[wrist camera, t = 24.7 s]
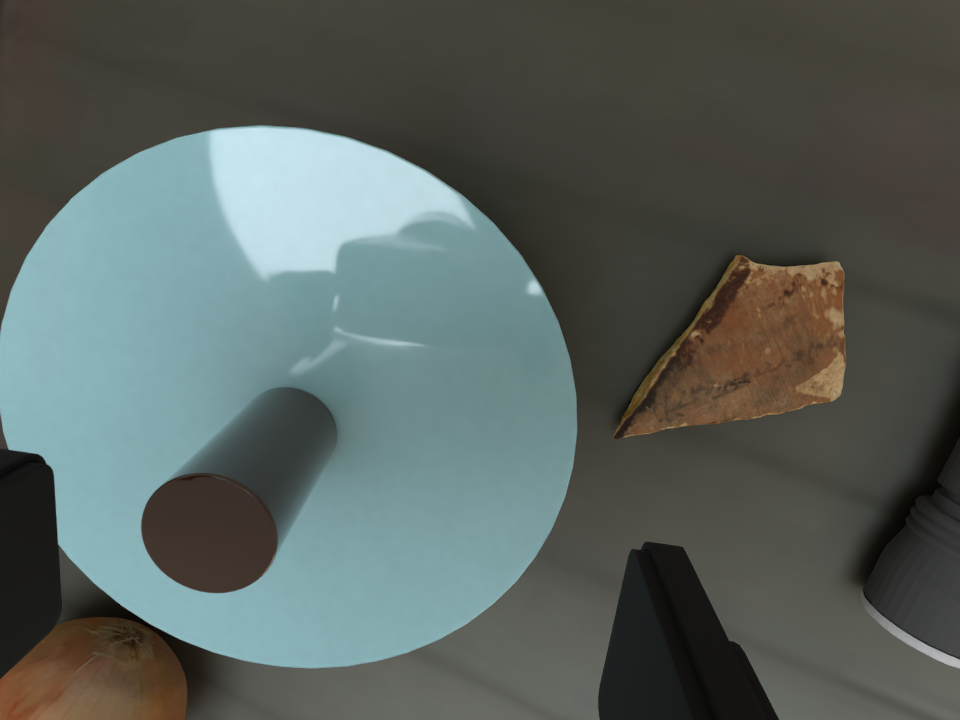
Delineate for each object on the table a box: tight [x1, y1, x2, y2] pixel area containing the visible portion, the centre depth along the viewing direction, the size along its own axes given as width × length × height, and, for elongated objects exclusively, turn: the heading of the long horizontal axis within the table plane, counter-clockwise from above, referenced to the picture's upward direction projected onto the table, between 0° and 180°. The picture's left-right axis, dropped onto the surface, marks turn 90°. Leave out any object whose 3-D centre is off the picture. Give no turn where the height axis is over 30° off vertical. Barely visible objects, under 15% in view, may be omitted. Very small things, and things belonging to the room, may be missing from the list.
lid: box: [0, 125, 577, 668], centre depth 16 cm, size 17×17×7 cm
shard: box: [613, 255, 846, 439], centre depth 28 cm, size 11×8×2 cm
